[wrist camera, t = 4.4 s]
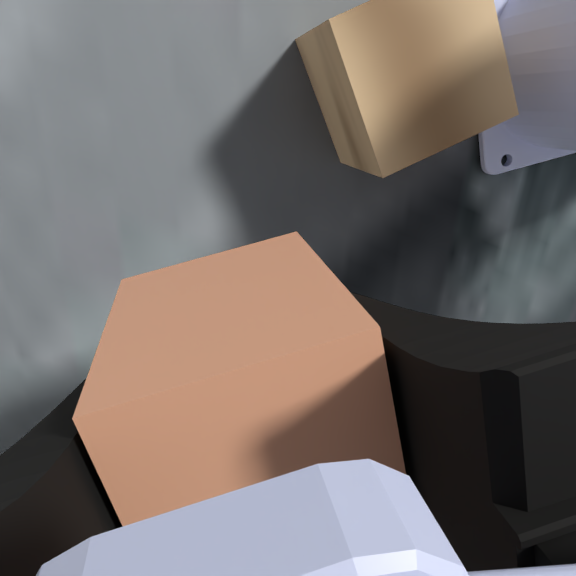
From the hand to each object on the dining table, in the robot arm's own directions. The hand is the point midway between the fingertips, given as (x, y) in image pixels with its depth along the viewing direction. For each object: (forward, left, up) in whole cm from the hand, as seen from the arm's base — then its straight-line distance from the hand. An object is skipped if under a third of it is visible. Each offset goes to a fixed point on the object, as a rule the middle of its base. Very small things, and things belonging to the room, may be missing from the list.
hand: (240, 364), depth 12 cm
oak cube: (-8, -5, -10) cm, 14 cm away
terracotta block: (0, 0, -2) cm, 2 cm away
